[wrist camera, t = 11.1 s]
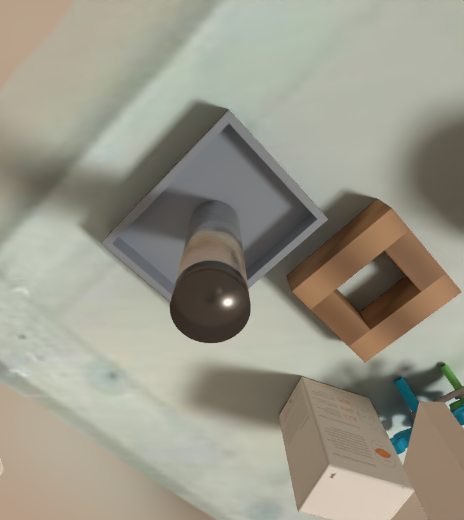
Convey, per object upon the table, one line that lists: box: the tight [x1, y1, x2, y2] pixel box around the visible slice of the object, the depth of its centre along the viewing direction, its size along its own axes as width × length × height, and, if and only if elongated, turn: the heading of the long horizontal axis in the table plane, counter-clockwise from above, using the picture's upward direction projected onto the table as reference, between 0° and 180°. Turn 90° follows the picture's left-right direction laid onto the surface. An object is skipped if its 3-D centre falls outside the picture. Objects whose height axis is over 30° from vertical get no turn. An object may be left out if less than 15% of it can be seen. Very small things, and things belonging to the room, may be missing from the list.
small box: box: [279, 377, 414, 520], centre depth 36 cm, size 8×6×10 cm
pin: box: [170, 201, 250, 343], centre depth 26 cm, size 4×4×14 cm
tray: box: [101, 109, 328, 302], centre depth 32 cm, size 14×11×2 cm
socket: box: [287, 199, 461, 362], centre depth 34 cm, size 10×10×3 cm
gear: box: [390, 365, 464, 455], centre depth 38 cm, size 11×6×10 cm
